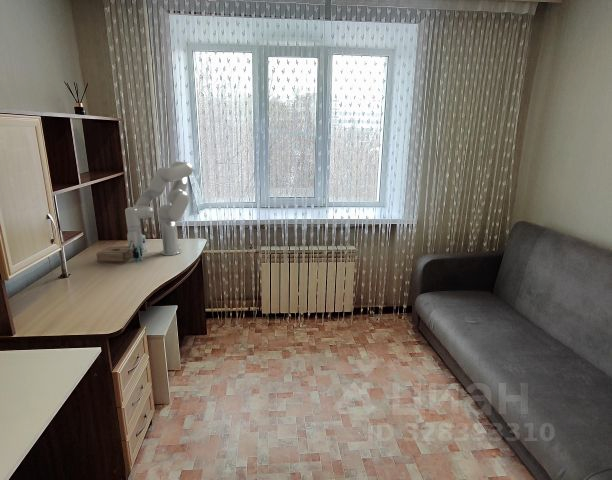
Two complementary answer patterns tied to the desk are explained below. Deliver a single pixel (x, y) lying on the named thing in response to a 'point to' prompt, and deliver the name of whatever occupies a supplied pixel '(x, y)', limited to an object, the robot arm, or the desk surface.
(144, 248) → the light bulb box
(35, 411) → the desk surface
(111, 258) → the walnut socket block
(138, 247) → the teal peg
